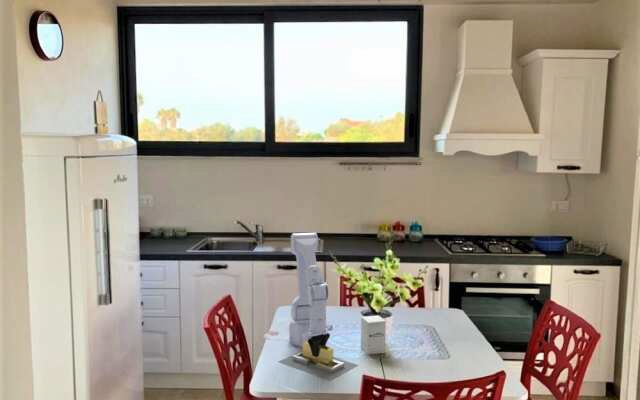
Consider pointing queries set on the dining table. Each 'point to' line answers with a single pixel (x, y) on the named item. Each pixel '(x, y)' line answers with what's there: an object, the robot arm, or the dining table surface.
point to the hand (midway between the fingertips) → (317, 354)
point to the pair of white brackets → (336, 364)
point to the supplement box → (373, 334)
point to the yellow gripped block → (319, 354)
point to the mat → (312, 369)
